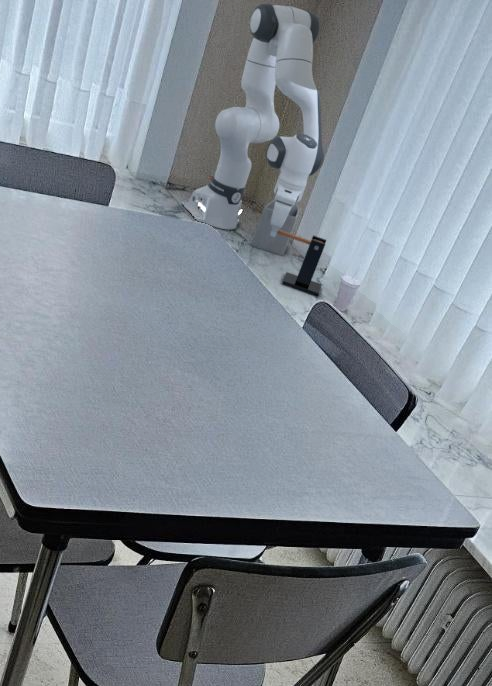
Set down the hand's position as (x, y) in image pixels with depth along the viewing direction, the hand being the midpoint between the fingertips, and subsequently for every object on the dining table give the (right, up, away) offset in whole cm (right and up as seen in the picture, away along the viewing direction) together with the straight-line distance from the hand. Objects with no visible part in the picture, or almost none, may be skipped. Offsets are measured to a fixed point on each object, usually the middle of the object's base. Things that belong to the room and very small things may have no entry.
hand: (273, 233), depth 315 cm
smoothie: (+21, -24, 0) cm, 31 cm away
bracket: (+10, -15, +7) cm, 19 cm away
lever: (+7, -3, 0) cm, 7 cm away
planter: (+4, +2, +28) cm, 28 cm away
